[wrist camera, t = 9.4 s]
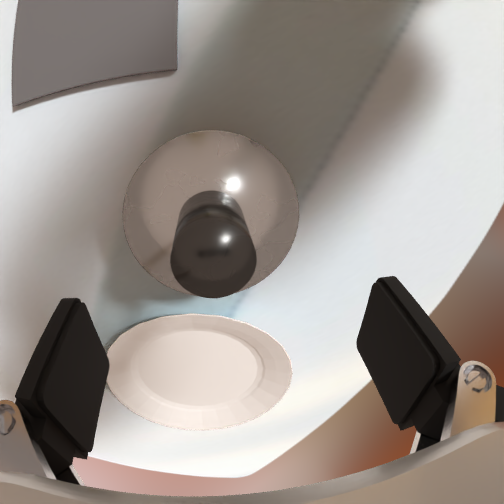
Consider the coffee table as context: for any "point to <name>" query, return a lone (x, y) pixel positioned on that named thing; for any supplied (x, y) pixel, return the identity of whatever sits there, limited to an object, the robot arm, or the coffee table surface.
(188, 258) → the lid
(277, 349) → the plate
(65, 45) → the mat
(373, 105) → the coffee table surface
